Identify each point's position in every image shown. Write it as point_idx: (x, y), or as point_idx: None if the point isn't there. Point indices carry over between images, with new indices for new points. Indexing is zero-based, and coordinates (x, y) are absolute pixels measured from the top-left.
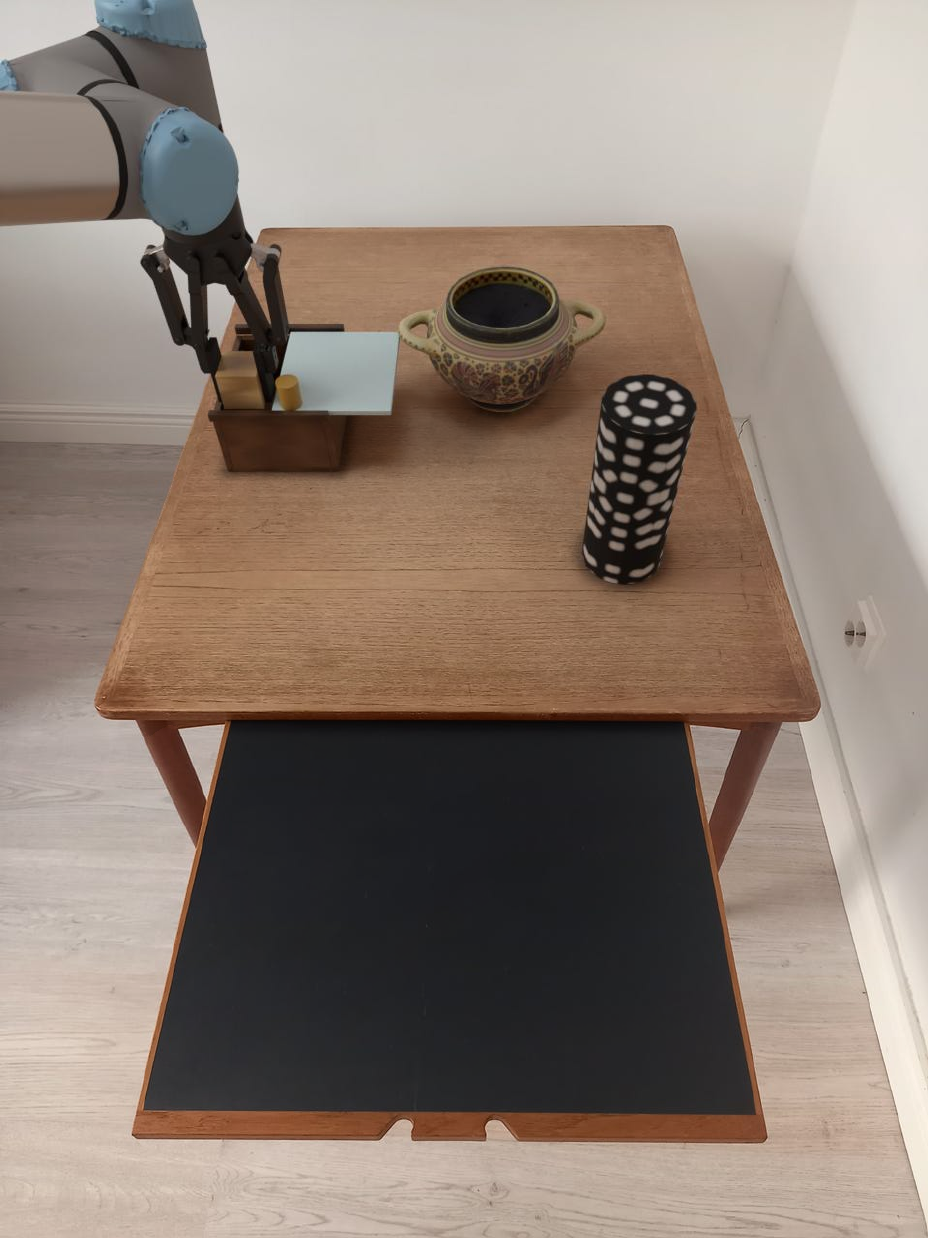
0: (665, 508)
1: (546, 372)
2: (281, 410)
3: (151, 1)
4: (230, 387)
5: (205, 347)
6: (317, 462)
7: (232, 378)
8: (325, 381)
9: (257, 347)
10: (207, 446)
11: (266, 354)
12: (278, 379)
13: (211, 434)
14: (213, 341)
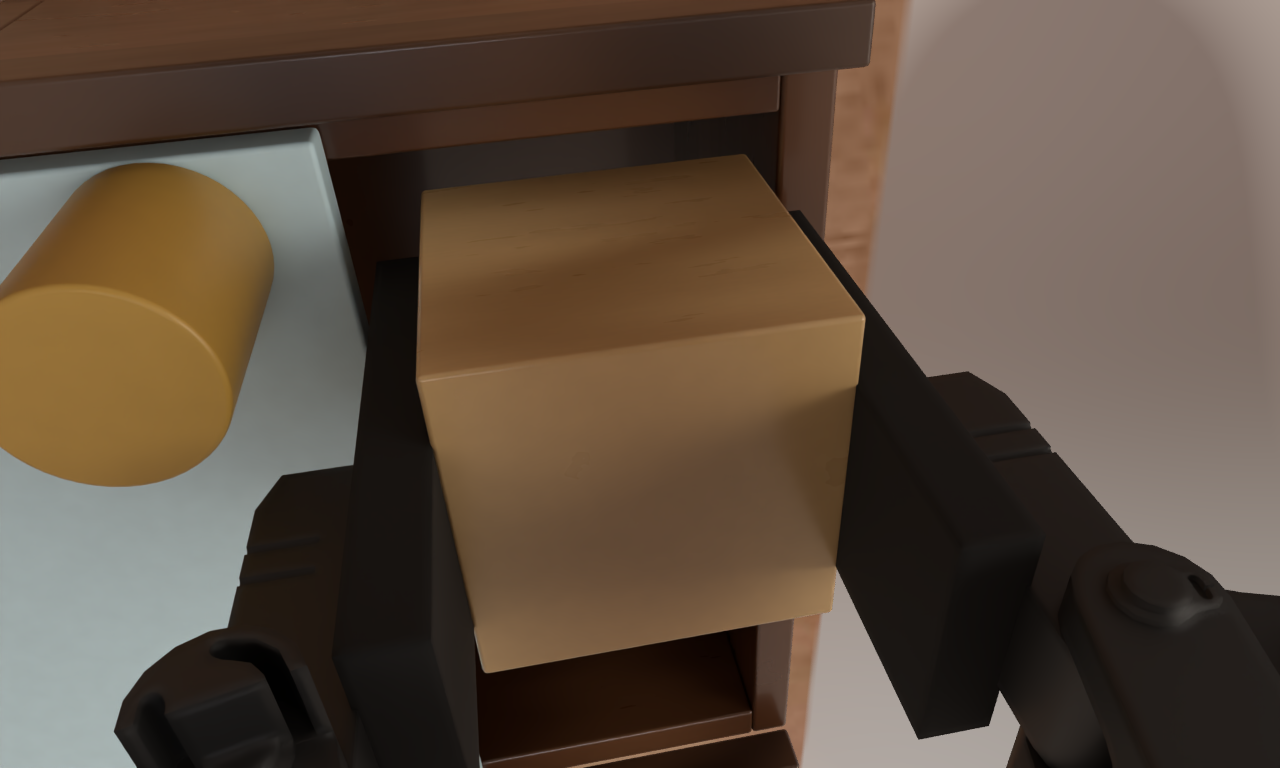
0: None
1: None
2: (190, 133)
3: None
4: (701, 263)
5: (1036, 600)
6: (118, 1)
7: (680, 323)
8: (23, 521)
9: (405, 715)
10: (838, 129)
11: (183, 645)
12: (205, 404)
13: (829, 214)
14: (945, 687)
